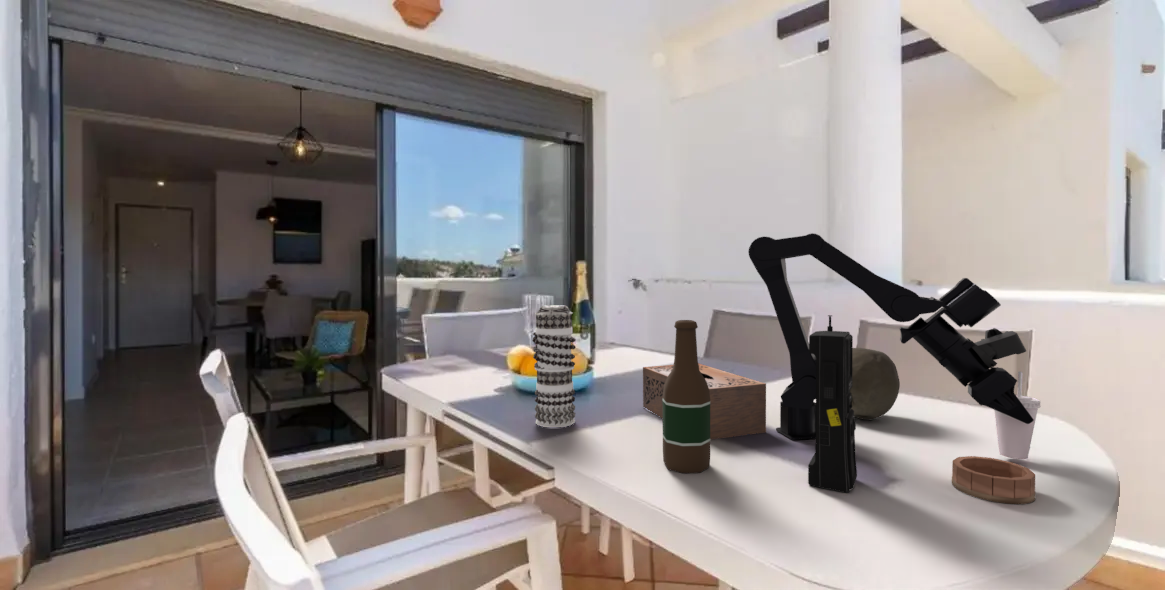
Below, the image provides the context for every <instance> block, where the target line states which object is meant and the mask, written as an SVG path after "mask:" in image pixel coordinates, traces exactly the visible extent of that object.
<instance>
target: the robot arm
mask: <svg viewBox="0 0 1165 590" xmlns="http://www.w3.org/2000/svg"><path fill="white" fill-rule="evenodd" d="M803 256H804V257H805V256H812V257H813V259H816V261H817V260H818V262H820V263H822V264H823V265H825V266H826V267H828V268H829V269H831V270H832V271H834V272H835V273H836V274H838V275H839V276H840V277H842V278H844V279H845V280H846V281H848V282H850V283H851V284H852V285H853V286H855V287H856V288H858V289H860V290H861V291H863V292H864V293H865V294H866V295H867V296H868V297H869V298H870V299H871V300H872V301H873V303H875V304H876V305H877V307H879V308H880V309H881V310H882V312H884V314H886V315H887V316H888V317H889V318H890V319H892V320H893V321H895V322H899V323H907V322H909V323H910V322H911V321H913V323H911V324H910V325H909V326H907V327H903V326H900V327H899V328H898V329H899V331H900V337H899V341H900V342H901V344H906V343H908V341H910V340H911V339H913V340H914V341H915V342H916V343H918V344H919V345H920V346H921V347H922V348H923V349H924V350H925V351H926V352H928V354H930V356H932V357H933V358H934V359H935V360H936V361H937V362H938V363H939V364H940V365H941V367H943V368H944V369H946V370H947V371H948V372H949V373H950V374H951V375H952V376H954V378H955V379H956V380H957V381H958V382H959V383H960V384H961V385H962V386H964V387H965V388H966V387H967V393H968V395H969V397H971V398H972V399H973V400H975V402H977V404H978V405H980V406H985V407H987V408H990V409H991V410H993V411H994V410H996V411H999V412H1001V413H1003V414H1006V415H1008V416H1010V417H1013V418H1015V419H1017V420H1019V421H1022V422H1024V423H1026V424H1030V423H1031V422H1033V421H1034V419H1033V418H1032V417H1031V415H1030V414H1029V413H1028V411H1027V410H1026V409H1025V407H1024V406H1023V405H1022V403H1021V402H1020V400H1019V399H1018V398H1017V396H1016V395H1017V394H1016V395H1015V386H1016V384H1017V383H1018V379H1016V378H1015V377H1014V376H1013V375H1012V374H1010V372H1008V371H1007V370H1006V369H1005V368H1003V367H998V366H997V364H998V362H996V360H1000V359H1003V358H1007V357H1010V356H1013V355H1021V354H1024V353H1026V352H1027V349H1026V347H1025V345H1024V344H1023V342H1022V340H1021V338H1020V336H1019V334H1018V333H1017V332H1015V331H1013V330H1010V331H1009V330H1006V331H1005V332H1002V331H1000V330H999V329H998V328H995V327H993V328H990V329H988V330H985V333H984V334H985V335H984V338H981V340H979V341H975V342H974V341H973V340H971V339H970V338H969V337H968V338H966V337H965V336H964V335H963V334H962V333H960V332H959V330H957V329H956V328H955V327H954V326H953V325H951V323H949V322H948V320H946V319H944V317H942V315H945V316H946V317H947V318H949V319H950V321H952V322H953V323H954V324H955V325H956V326H958V327H959V328H962V327H963V326H964V327H966V326H968V327H970V328H973V327H974V326H975V325H976V324H978V323H979V322H981V321H982V320H983V319H984V318H987V316H988V315H990V314H991V313H993V312H994V311H995V310H997V309H998V308H1000V307H1001V303H1000V302H999V301H998V300H997V299H996V298H995V297H994V296H993V295H992V294H990V293H989V292H988V291H987V290H985V289H982V288H981V287H980V286H978V285H977V284H976V283H974V282H972V281H971V280H970V279H969V278H968V277H962V279H960V280H959V281H958V282H957V283H956V284H955V285H954V287H952V288H951V289H950V290H948V291H947V292H946V293H945V294H943V295H942V296H941V297H939V298H935V297H934V296H930V297H924V296H920V295H918V294H917V293H916V292H914V291H912V290H910V289H908V288H906V287H904V286H901V285H899V284H897V283H895V282H893V281H890V280H888V279H886V278H884V277H881V276H880V275H877V274H875V273H874V272H872V271H871V270H869V269H868V268H866V267H865V266H863V265H862V264H861V263H860V262H858V261H856V260H855V259H853V258H852V257H850V256H848V255H847V254H846V253H845V252H844V253H843V252H842V251H841V250H839V249H838V248H836V247H835V246H833V245H832V244H831V243H829V242H827V241H826V240H825V239H824V238H823V237H822V236H821V235H820V234H817V233H813V232H812V233H811V232H810V233H808V234H806V235H802V236H801V235H799V236H793V237H785V238H778V239H775V238H773V237H770V236H760V237H759V236H758V237H757V238H755V239H754V240H753V241H752V242H751V244H750V246H749V248H748V257H749V259H750V261H751V262H752V264H753V266H754V268H755V270H756V272H757V273H758V275H759V276H760V278H761V280H762V281H763V282H764V284H765V285H766V287H767V290H768V294H769V297H770V299H771V302H772V305H773V306H772V307H773V308H774V311H775V315H776V317H777V320H778V323H779V326H780V329H781V331H782V335H783V338H784V342H785V345H786V347H787V351H788V353H789V362H790V363H789V364H790V374H791V380H792V382H791V383H789V384H788V385H787V386H785V389H784V390H783V392H782V393H781V395H780V399H781V401H780V402H779V403H780V405H779V410H780V414H779V416H780V418H779V421H780V424H779V427H776V428H775V431H776V432H778V433H780V434H781V435H783V436H785V437H787V438H789V439H790V440H794V441H795V440H812V439H816V401H815V400H816V357H815V355H814V354H811V353H809V339H808V336H807V334H806V331H805V328H804V325H803V322H802V319H801V316H800V313H799V311H798V307H797V305H796V301H795V300H794V299H795V297H794V296H793V292H792V290H791V287H790V284H789V282H788V277H787V263H786V259H792V258H798V257H803ZM933 313H934V314H933ZM924 314H925V315H926V314H931V316H929V317H928V318H925V319H924V318H922V317H919V316H920V315H924ZM918 317H919V318H918ZM917 318H918V319H917ZM916 319H917V320H916ZM914 320H915V321H914Z"/></svg>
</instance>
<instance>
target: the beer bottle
mask: <svg viewBox="0 0 1165 590" xmlns="http://www.w3.org/2000/svg"><path fill="white" fill-rule="evenodd" d="M673 326H674V328H675V340H674V341H675V345H674V360H673V364H672V365H673V370H672V371H671V372H670V374H669V375H668V377H667V378H666V381H665V384H664V387H663V419H662V459H663V462H664V464H665V465H664V466H665V467H666V469H667V470H669V471H673V472H676V473H681V474H700V473H702V472H704V471H706V470H707V469H709V468H710V466H711V464H710V463H711V440H710V391H709V388H708V385H707V382H706V380H705V378H704V377H703V375H702V374H701V372H700V370H699V365H698V363H699V360H698V359H699V358H698V345H697V344H698V343H697V329H698V328H699V327H698V322H697V321H695V320H690V319H680V320H676V321H675V322H674V325H673Z"/></svg>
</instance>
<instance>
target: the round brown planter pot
mask: <svg viewBox="0 0 1165 590" xmlns="http://www.w3.org/2000/svg"><path fill="white" fill-rule="evenodd" d="M951 463H952V465H951V466H952V467H951V468H952V469H951V470H952V471H951V472H952V473H951V486H953V487H954V488H955V489H956V490H958V491H959V492H961V493H963V494H966V495H967V496H970V495H971V497H973V496H974V498H976V497H977V498H976V499H980V500H984V501H989V502H993V503H999V504H1004V505H1005V504H1007V505H1026V504H1032V503H1033V502H1035V501H1036V473H1034V472H1033V471H1032V470H1031V469H1030V468H1028V467H1026V466H1023V465H1020V464H1017V463H1015V462H1011V461H1007V460H1003V459H999V458H993V457H987V456H986V457H985V456H976V455H973V456H972V455H971V456H970V455H968V456H967V455H966V456H959V457H958V456H957V457H956V458H955V459H953V460H952V462H951Z"/></svg>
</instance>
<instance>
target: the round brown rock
mask: <svg viewBox="0 0 1165 590" xmlns="http://www.w3.org/2000/svg"><path fill="white" fill-rule="evenodd" d="M900 387H901V385H900V377H899V372H898V368H897V367H896V364H895V362H894V361H893V359H891V357H890V356H889V355H887V354H886V353H885V352H883V351H880V350H875V349H871V348H863V347H853V359H852V388H851V390H850V392H851V393H852V408H851V409H852V410H854V418H856V419H860V420H863V421H864V420H867V421H870V420H876V419H878V418H881V417H883V416H884V415H885V414H887V413H888V412H889V411H890V410H891V409H892V408H893V406H894V405H895V403H896V401H897V399H898V396H899V392H900Z"/></svg>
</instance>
